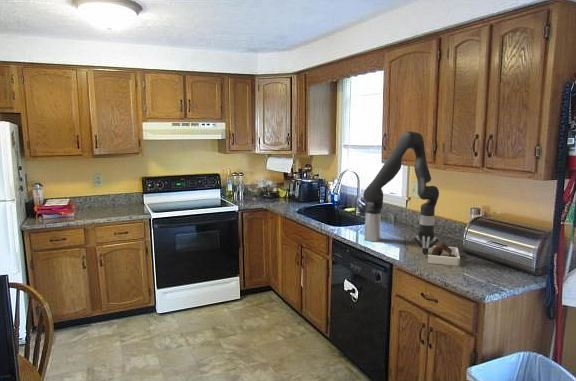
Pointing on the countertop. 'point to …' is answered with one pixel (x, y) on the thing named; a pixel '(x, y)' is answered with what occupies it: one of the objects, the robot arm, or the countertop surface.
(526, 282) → the countertop surface
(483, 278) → the countertop surface
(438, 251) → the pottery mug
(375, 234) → the robot arm
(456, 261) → the box
